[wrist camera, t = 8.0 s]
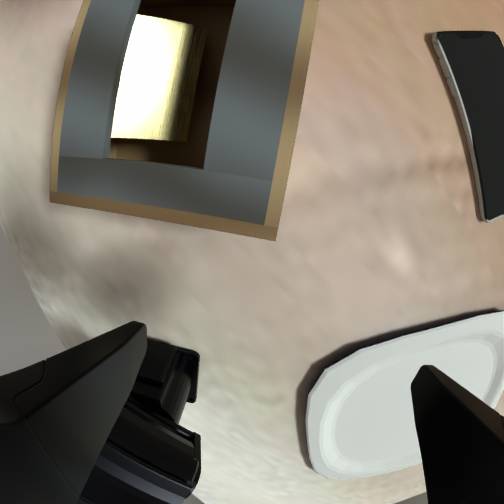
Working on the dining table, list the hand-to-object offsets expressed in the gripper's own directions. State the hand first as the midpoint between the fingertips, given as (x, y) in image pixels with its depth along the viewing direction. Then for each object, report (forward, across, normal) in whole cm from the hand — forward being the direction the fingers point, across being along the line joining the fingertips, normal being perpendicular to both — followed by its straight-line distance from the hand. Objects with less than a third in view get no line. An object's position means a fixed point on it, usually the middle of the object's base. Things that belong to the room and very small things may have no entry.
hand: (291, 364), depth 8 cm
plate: (+13, -19, +16) cm, 28 cm away
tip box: (+12, +7, -9) cm, 17 cm away
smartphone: (+13, -15, -13) cm, 24 cm away
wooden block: (+11, +7, -9) cm, 16 cm away
